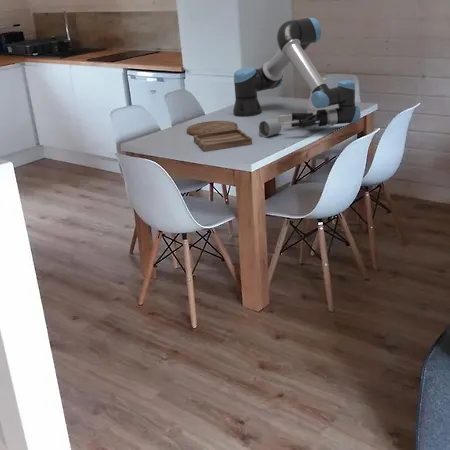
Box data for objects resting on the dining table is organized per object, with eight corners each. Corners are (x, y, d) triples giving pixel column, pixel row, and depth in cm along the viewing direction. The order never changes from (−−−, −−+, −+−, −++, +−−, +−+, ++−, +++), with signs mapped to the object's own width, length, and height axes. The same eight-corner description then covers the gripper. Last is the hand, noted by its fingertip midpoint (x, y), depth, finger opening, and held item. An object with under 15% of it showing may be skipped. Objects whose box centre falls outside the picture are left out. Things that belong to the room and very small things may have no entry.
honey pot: (333, 111, 327) (333, 76, 320) (331, 117, 315) (330, 80, 308) (308, 111, 330) (307, 77, 323) (305, 117, 319) (304, 81, 312)
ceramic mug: (282, 134, 292) (282, 118, 289) (269, 138, 287) (268, 121, 285) (267, 131, 300) (266, 115, 297) (254, 135, 295) (253, 119, 292)
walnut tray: (194, 141, 294) (193, 135, 293) (239, 134, 299) (238, 128, 298) (204, 151, 276) (203, 145, 275) (252, 144, 281) (251, 138, 280)
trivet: (176, 134, 310) (176, 130, 309) (210, 122, 327) (209, 118, 327) (214, 139, 295) (214, 135, 294) (247, 127, 312) (247, 123, 311)
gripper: (333, 131, 281) (286, 136, 280) (319, 119, 304) (276, 123, 303) (333, 115, 278) (286, 120, 277) (319, 103, 301) (275, 108, 300)
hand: (280, 122), depth 290 cm, fingers open, 13 cm apart
